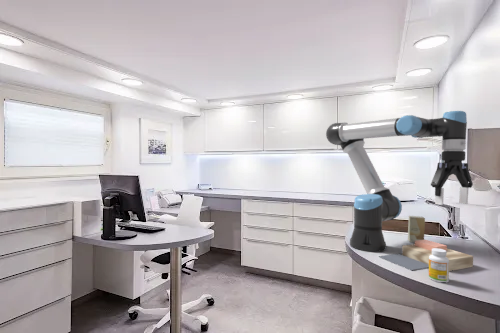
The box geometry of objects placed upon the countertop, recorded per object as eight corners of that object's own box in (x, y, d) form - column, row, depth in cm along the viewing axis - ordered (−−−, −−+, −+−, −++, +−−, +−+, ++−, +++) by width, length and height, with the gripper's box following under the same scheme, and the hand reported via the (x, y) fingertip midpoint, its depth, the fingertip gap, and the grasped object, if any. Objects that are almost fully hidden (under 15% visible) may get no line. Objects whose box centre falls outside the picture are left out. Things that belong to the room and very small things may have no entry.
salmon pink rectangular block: (414, 245, 113) (414, 240, 113) (425, 244, 115) (425, 239, 115) (436, 252, 104) (436, 247, 104) (446, 250, 107) (446, 245, 106)
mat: (378, 256, 110) (378, 256, 110) (398, 254, 114) (398, 253, 114) (412, 270, 96) (412, 269, 96) (433, 267, 100) (433, 266, 100)
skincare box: (409, 242, 132) (410, 217, 132) (407, 239, 136) (407, 215, 136) (424, 243, 130) (425, 217, 130) (422, 241, 134) (422, 216, 134)
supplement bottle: (434, 275, 93) (434, 246, 93) (452, 281, 88) (452, 251, 88) (425, 278, 90) (425, 248, 90) (443, 284, 85) (443, 253, 85)
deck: (402, 255, 113) (402, 245, 113) (426, 251, 117) (426, 242, 117) (446, 271, 96) (446, 260, 96) (473, 266, 101) (473, 256, 100)
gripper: (440, 149, 101) (437, 206, 101) (485, 151, 109) (483, 204, 109) (421, 150, 108) (419, 203, 108) (465, 151, 116) (463, 201, 116)
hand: (451, 204), depth 109 cm, fingers open, 13 cm apart
